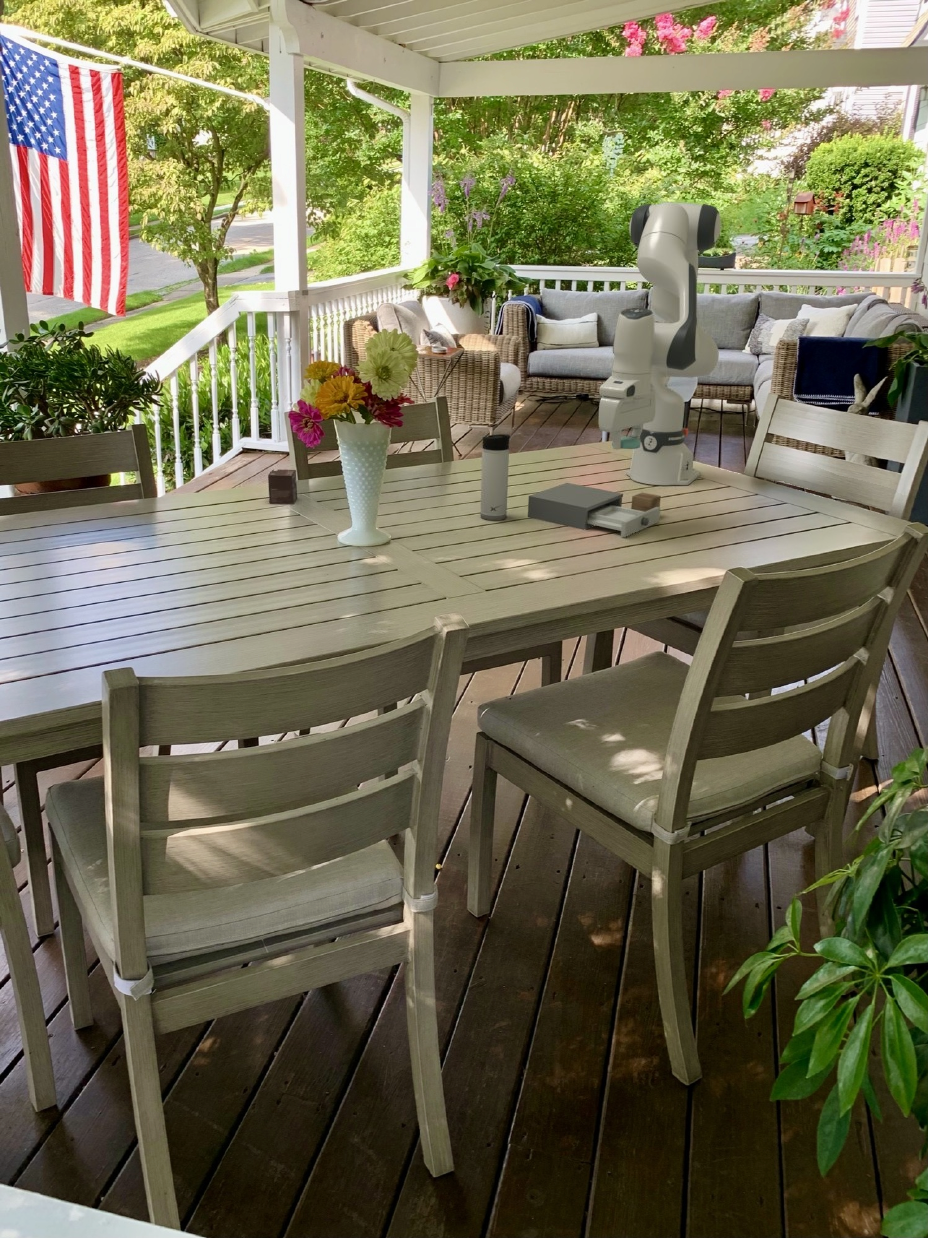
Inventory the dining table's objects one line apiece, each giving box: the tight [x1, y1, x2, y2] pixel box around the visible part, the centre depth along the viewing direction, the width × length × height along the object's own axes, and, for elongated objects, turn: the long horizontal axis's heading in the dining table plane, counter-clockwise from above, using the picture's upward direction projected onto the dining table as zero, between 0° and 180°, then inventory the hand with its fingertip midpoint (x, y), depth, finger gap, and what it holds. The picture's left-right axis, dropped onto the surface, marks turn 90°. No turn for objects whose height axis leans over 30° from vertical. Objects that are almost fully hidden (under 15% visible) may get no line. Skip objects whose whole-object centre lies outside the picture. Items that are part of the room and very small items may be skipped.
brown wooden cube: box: [630, 492, 662, 512], centre depth 245 cm, size 5×5×5 cm
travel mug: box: [479, 433, 511, 521], centre depth 239 cm, size 6×7×20 cm
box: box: [267, 469, 298, 505], centre depth 251 cm, size 6×6×7 cm
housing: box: [527, 482, 624, 530], centre depth 244 cm, size 17×16×5 cm
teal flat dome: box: [611, 435, 641, 450], centre depth 231 cm, size 6×6×2 cm
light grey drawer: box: [587, 505, 661, 538], centre depth 238 cm, size 17×17×4 cm
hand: (625, 446), depth 231 cm, fingers closed on teal flat dome, 6 cm apart
